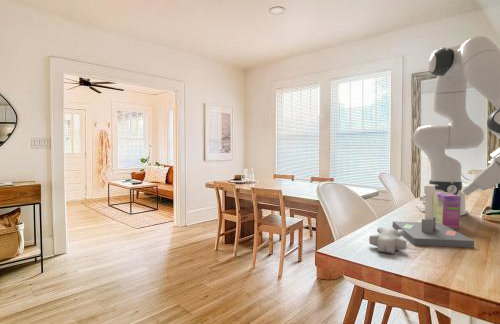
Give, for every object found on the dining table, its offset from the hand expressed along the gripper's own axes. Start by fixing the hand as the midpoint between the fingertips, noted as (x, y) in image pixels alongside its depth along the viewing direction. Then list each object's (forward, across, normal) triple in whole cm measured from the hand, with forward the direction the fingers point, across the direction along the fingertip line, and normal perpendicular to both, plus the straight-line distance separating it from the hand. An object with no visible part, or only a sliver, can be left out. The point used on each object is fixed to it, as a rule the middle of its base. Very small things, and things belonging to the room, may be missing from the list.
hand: (464, 193), depth 88 cm
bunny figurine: (+23, +19, -1) cm, 30 cm away
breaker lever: (+15, 0, +2) cm, 15 cm away
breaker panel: (+17, 0, +4) cm, 18 cm away
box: (+15, -20, +6) cm, 26 cm away
